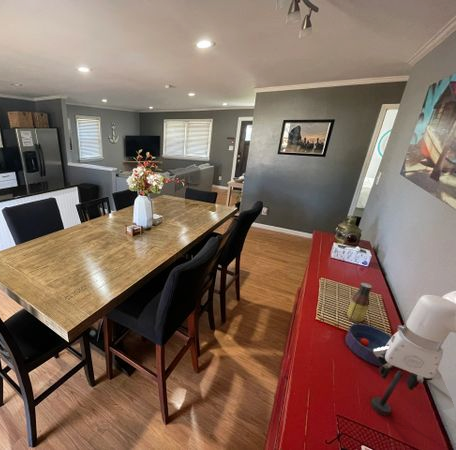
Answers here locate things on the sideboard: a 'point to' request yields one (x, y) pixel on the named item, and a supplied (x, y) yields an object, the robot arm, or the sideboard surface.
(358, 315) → the sauce bottle
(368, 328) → the bowl
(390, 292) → the sideboard surface
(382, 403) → the dark grey rod
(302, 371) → the sideboard surface
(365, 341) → the tomato
